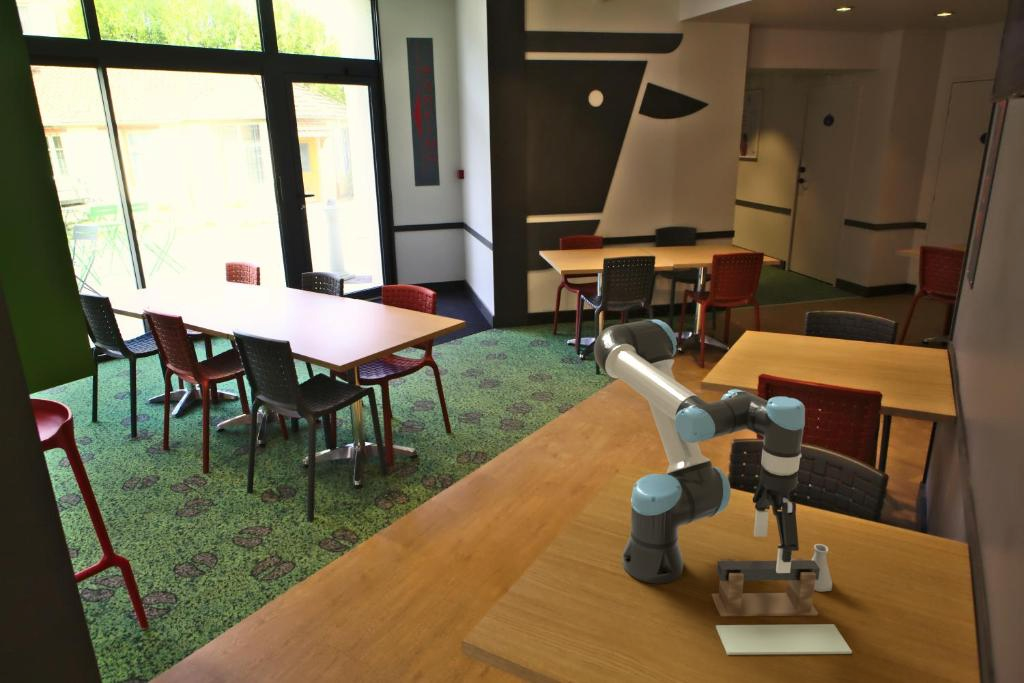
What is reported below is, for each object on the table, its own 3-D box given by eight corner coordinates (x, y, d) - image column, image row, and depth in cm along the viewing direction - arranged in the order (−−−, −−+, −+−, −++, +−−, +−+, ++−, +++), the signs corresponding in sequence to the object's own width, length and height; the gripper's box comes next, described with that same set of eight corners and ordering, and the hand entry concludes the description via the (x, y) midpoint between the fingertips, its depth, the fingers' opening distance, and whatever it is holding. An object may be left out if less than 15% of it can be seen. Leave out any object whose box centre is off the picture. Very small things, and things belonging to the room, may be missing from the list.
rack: (720, 616, 147) (724, 577, 144) (711, 595, 154) (715, 557, 151) (817, 615, 147) (823, 576, 144) (804, 594, 153) (809, 556, 150)
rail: (720, 580, 146) (721, 569, 146) (716, 572, 149) (717, 561, 148) (818, 579, 146) (819, 568, 145) (812, 571, 149) (814, 560, 148)
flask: (836, 594, 153) (841, 558, 150) (803, 591, 155) (808, 555, 152) (828, 575, 160) (833, 540, 157) (797, 572, 162) (801, 537, 159)
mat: (727, 654, 136) (727, 652, 136) (716, 627, 144) (716, 625, 143) (851, 653, 136) (851, 651, 135) (833, 626, 143) (833, 624, 143)
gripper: (823, 497, 128) (811, 588, 134) (775, 442, 152) (767, 522, 158) (785, 498, 128) (775, 589, 134) (742, 443, 152) (736, 522, 158)
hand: (770, 553), depth 146 cm, fingers open, 13 cm apart
